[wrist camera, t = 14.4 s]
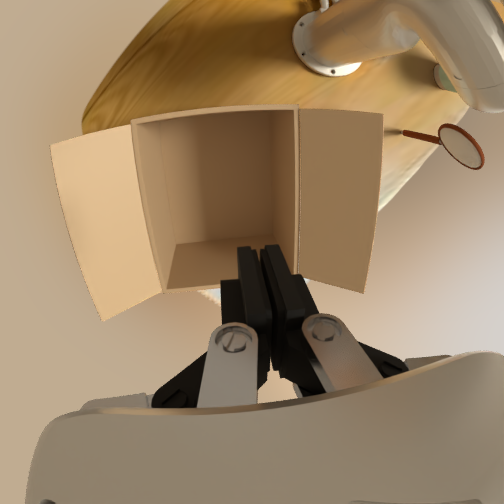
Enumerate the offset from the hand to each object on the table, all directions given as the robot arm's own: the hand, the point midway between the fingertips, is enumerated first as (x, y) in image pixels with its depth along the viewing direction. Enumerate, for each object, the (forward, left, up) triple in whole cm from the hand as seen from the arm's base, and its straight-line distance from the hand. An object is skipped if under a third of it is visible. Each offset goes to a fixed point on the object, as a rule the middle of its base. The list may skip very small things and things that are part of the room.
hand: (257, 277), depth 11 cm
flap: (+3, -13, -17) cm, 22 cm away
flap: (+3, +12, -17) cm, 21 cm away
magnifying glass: (-5, +33, -35) cm, 48 cm away
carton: (+3, -1, -34) cm, 35 cm away
